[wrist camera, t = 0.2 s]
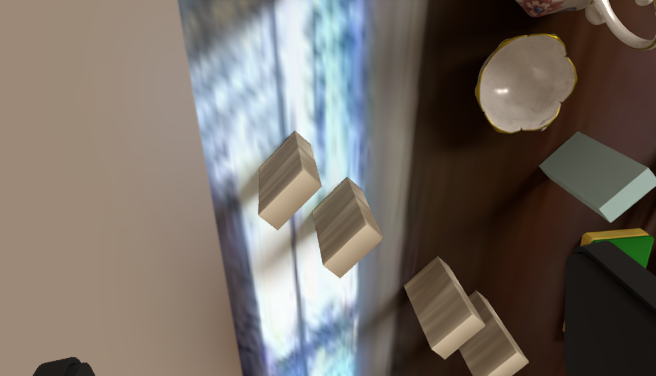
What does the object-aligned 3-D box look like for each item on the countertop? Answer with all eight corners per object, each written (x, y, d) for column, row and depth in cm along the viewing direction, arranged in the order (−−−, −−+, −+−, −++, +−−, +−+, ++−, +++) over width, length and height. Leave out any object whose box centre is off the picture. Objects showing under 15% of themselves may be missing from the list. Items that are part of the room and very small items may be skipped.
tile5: (443, 318, 57) (477, 383, 48) (476, 290, 56) (517, 352, 47) (454, 326, 58) (489, 393, 49) (486, 299, 57) (528, 362, 48)
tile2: (312, 211, 50) (323, 265, 41) (347, 176, 49) (366, 224, 40) (326, 222, 50) (340, 278, 41) (361, 189, 49) (383, 238, 40)
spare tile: (538, 166, 51) (598, 209, 42) (577, 131, 50) (648, 167, 41) (549, 178, 51) (610, 222, 42) (588, 143, 50) (659, 182, 41)
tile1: (259, 167, 47) (258, 215, 38) (294, 130, 46) (302, 170, 37) (274, 180, 48) (277, 230, 39) (310, 144, 47) (321, 186, 38)
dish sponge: (640, 226, 56) (655, 236, 54) (614, 324, 62) (627, 337, 59) (580, 231, 55) (594, 242, 53) (560, 330, 61) (571, 343, 59)
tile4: (403, 285, 55) (431, 348, 46) (437, 256, 54) (472, 314, 45) (415, 295, 56) (444, 359, 46) (448, 266, 54) (485, 325, 45)
